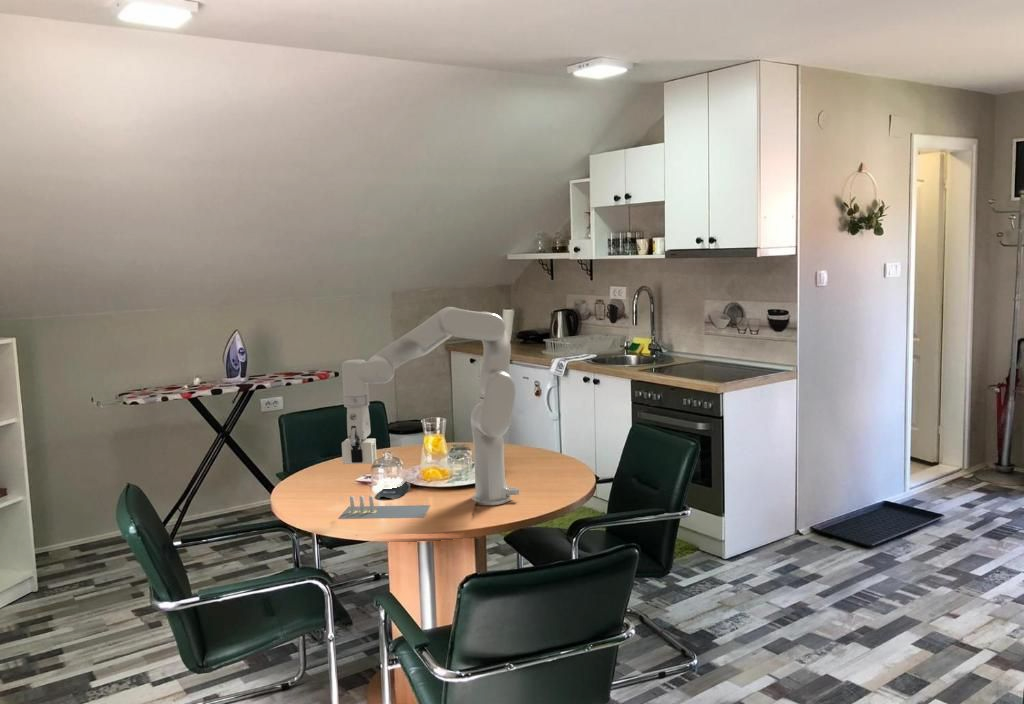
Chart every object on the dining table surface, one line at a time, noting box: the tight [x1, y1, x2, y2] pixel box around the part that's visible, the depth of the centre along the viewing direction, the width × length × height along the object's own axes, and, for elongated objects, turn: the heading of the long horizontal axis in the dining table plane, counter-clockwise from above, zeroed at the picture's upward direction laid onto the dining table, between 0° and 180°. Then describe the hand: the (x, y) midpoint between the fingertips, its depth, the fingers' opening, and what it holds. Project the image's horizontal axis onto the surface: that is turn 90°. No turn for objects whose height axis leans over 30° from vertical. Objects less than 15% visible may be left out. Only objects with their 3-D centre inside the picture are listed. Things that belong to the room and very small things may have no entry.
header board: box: [337, 495, 431, 520], centre depth 256 cm, size 26×12×6 cm, turn 86°
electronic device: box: [374, 482, 411, 500], centre depth 276 cm, size 9×6×15 cm
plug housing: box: [341, 438, 378, 465], centre depth 254 cm, size 9×6×6 cm, turn 86°
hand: (359, 459), depth 254 cm, fingers closed on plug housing, 5 cm apart
